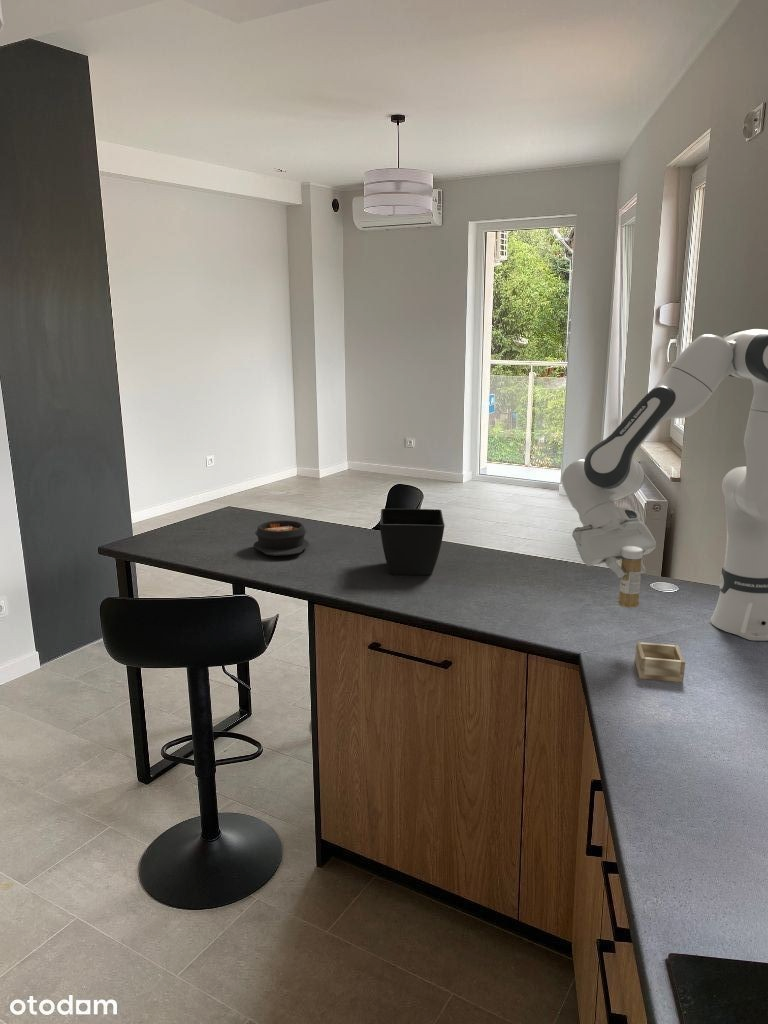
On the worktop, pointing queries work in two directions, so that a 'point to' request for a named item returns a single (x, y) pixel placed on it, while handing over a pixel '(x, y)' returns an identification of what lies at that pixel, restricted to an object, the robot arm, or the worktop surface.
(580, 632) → the worktop surface
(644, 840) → the worktop surface
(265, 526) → the casserole
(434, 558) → the flower pot
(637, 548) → the sprinkles bottle
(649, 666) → the box
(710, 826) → the worktop surface
